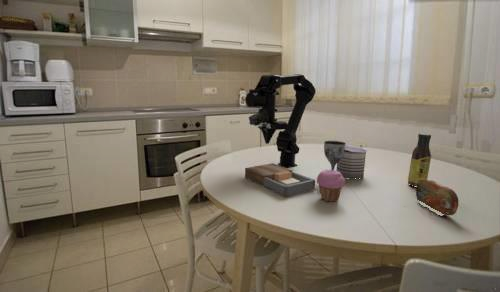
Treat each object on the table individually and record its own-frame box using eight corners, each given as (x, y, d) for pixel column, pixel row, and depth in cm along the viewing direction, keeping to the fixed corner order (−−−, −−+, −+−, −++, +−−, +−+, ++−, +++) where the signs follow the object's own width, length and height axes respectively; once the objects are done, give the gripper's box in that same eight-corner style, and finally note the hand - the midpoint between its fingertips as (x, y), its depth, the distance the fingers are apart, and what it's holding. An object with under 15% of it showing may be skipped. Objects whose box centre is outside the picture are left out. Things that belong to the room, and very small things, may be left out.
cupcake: (348, 203, 94) (351, 173, 92) (324, 206, 91) (326, 175, 89) (333, 193, 102) (335, 165, 100) (310, 195, 100) (312, 167, 97)
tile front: (300, 181, 105) (299, 187, 105) (292, 177, 108) (291, 184, 109) (287, 184, 102) (286, 190, 102) (279, 180, 105) (278, 186, 106)
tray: (291, 180, 115) (292, 171, 114) (314, 189, 105) (315, 180, 105) (263, 186, 107) (263, 177, 106) (285, 197, 98) (285, 187, 97)
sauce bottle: (419, 189, 107) (427, 136, 103) (403, 184, 113) (410, 133, 108) (430, 187, 110) (438, 134, 106) (414, 182, 116) (421, 132, 111)
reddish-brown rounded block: (413, 200, 97) (417, 176, 95) (422, 200, 97) (426, 176, 96) (447, 221, 83) (452, 193, 81) (457, 221, 83) (462, 192, 81)
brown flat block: (272, 172, 125) (272, 163, 124) (291, 180, 115) (292, 170, 114) (245, 177, 117) (245, 168, 116) (263, 186, 107) (263, 176, 106)
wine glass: (342, 178, 119) (346, 141, 116) (342, 184, 112) (345, 145, 108) (322, 175, 121) (325, 140, 118) (320, 181, 114) (323, 143, 111)
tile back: (287, 170, 110) (291, 172, 108) (286, 182, 111) (291, 184, 109) (274, 173, 107) (278, 174, 105) (274, 184, 108) (278, 186, 106)
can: (340, 169, 131) (342, 143, 128) (367, 174, 124) (370, 146, 122) (331, 176, 121) (333, 147, 119) (359, 181, 115) (362, 151, 112)
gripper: (239, 105, 124) (239, 141, 127) (266, 108, 109) (265, 150, 112) (260, 104, 130) (259, 139, 133) (289, 107, 115) (287, 146, 118)
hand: (267, 143), depth 124 cm, fingers closed
